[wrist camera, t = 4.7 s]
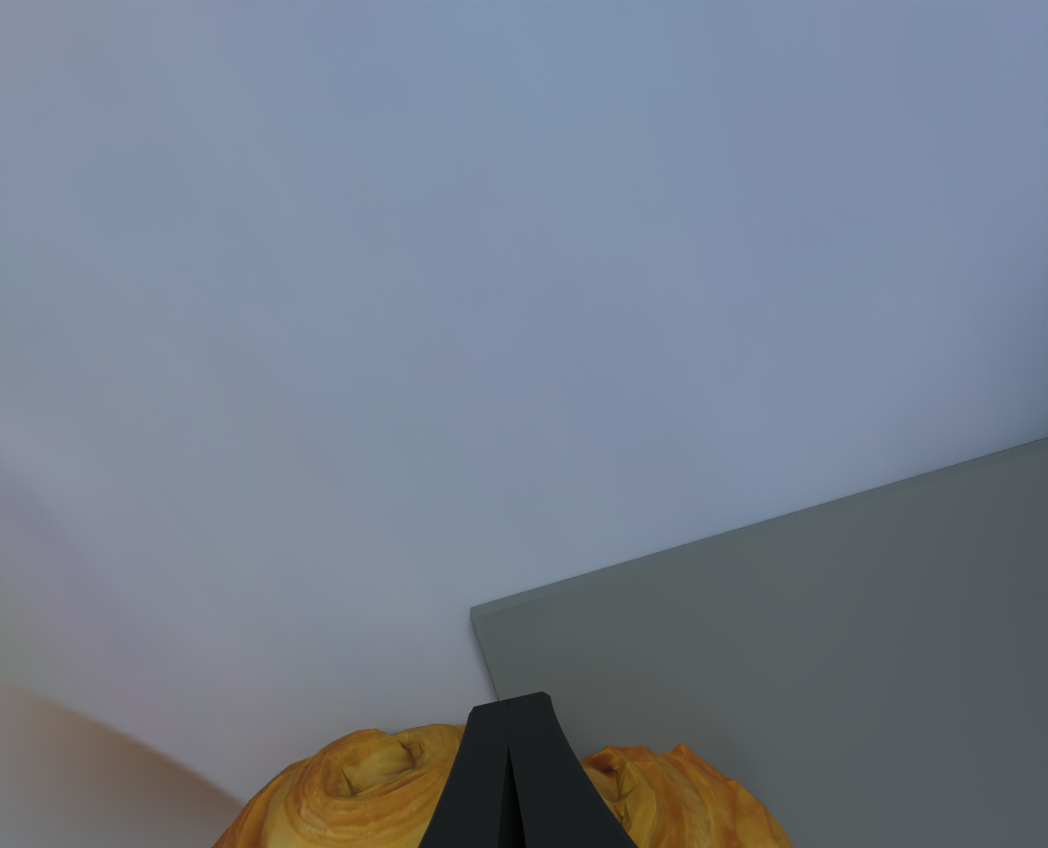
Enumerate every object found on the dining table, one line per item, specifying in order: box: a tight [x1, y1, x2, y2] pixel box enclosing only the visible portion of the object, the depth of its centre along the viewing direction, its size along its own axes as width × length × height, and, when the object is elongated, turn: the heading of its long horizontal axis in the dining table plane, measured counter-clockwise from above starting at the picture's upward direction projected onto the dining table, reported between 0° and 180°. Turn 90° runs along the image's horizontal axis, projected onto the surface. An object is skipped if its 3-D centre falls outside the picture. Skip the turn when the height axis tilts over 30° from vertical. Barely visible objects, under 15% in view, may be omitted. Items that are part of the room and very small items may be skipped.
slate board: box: [471, 438, 1048, 848], centre depth 15 cm, size 19×17×1 cm
